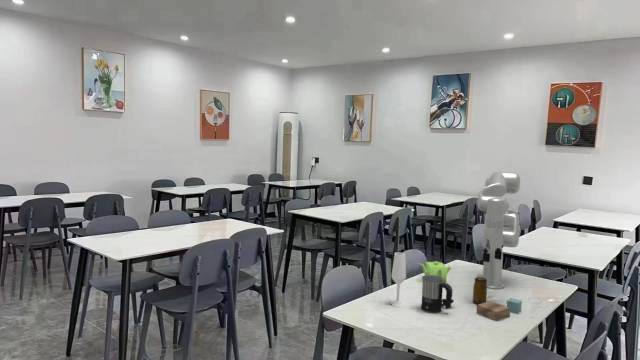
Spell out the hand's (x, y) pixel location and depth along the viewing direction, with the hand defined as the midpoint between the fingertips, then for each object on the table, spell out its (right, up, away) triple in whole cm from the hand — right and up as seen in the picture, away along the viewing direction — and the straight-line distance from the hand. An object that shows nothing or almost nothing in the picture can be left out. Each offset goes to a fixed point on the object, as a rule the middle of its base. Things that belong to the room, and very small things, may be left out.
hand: (492, 260), depth 209 cm
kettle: (-18, -18, +34) cm, 43 cm away
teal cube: (+8, -22, -6) cm, 24 cm away
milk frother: (-27, -21, -5) cm, 35 cm away
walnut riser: (-4, -22, -12) cm, 26 cm away
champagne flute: (-45, -20, -2) cm, 49 cm away
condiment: (-5, -21, +3) cm, 22 cm away
